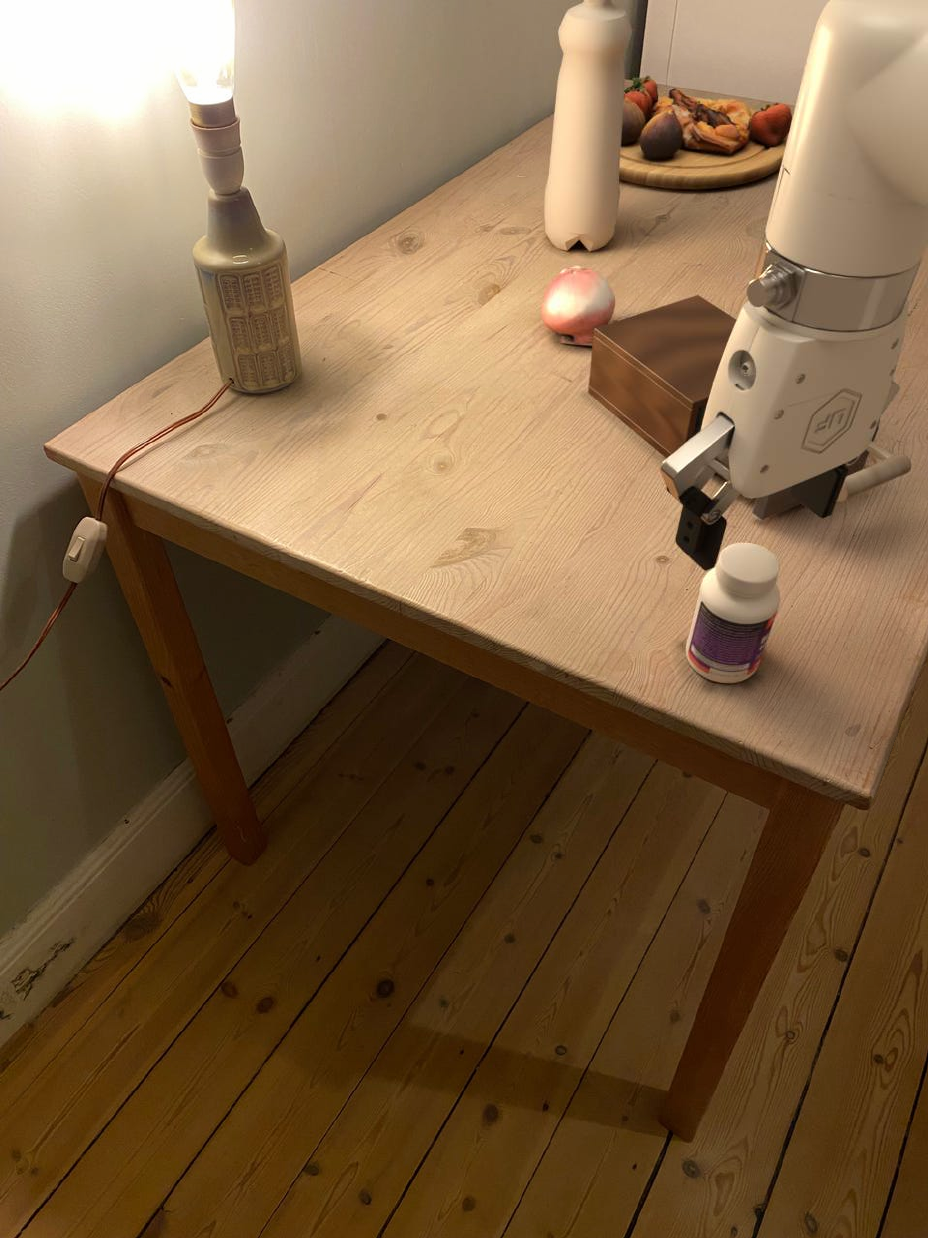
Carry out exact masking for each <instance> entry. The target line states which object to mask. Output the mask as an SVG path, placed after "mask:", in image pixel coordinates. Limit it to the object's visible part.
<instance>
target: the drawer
mask: <svg viewBox="0 0 928 1238" xmlns="http://www.w3.org/2000/svg"><path fill="white" fill-rule="evenodd" d="M706 407H707V405H704V406H702V407H699V409H698V414H697V419H696V423H695V428H694V433H693V437H694V436H695V435H696V434H697V433H699V432H700V431H701V427H702V422H703V418H704V415H705V411H706ZM879 429H880V427H879V426H878V428H877V429H876V430H875V433H874V435H873V437H872V440H871V442H870V444H869V446H868V447H867V449H866V450H865V451H864V452H863V453H861V455H860V457H859V459H858V460H857V461H856V462H855V463H854V464H852V465H850V466H847V465H845V467H846V468H847V469H849V471H848V473H847V476H846V479H845V481H844V484H843V486H842V489H841V491H840V494H839V497H838V499H837V502H838V503H839V502H840V503H844V502H846V501H849V500H850V499H853V498H855V497H857V496H859V495H863V494H864V493H866V492H868V491H871V490H873V489H875V488H877V487H880V486H882V485H884V484H886V483H888V482H891V481H893V480H895V479H898V478H900V477H902V476H904V475H907V474H908V473H909V472H910V471H911V470H912V460H911V459H910V457H909V456H908V455H906V454H904V453H897V454H895V455H893V454H892V453H890V452H889V451H887V450H886V449H884V448H883V447H881V446H880V445H878V444H877V443H875V439H876V436H877V434H878V431H879ZM870 454H872V455H873V456H874V457H876V458H877V459H879V460H880V461H879V462H877V463H876V462H875V463H874V464H872V465H870V466H868V467H865V465H866V463H867V460H868V457H869V455H870ZM722 462H724V463H725V464H726V465H727V466H728V467H729V456H727V457H725V458H724V459H723V460H722ZM864 467H865V468H864ZM715 474H718V473H717V472H715ZM720 477H721V478H723V477H722V476H720ZM791 488H792V486H791V487H788V488H786V489H783V490H781V491H778V492H775V493H773V494H770V495H767V496H764V497H759V498H755V501H754V506H753V510H752V514H753V515H755V516H756V517H757V518H758V519H759V520H760V521H764V520H766V519H769V518H772V517H773V516H775V515H778V514H780V513H782V512H785V511H787V510H790V509H791V508H793V507H796V506H798V505H800V504H801V503H800V502H799V501H797V500H796V499H795V498H794V497H792V495H791V493H790V491H791ZM801 505H802V504H801Z"/></svg>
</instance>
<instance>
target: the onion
mask: <svg viewBox="0 0 928 1238" xmlns="http://www.w3.org/2000/svg"><path fill="white" fill-rule="evenodd" d="M615 307H616V297H615V294H614V291H613V289H612V287H611V285H610V284H609V282H608V281H607V280H606V278H605V277H604V276H603V275H602V274H600V272H597V271H595V270H592V269H590V268H587V267H584V266H581V265H574V266H571V267H568V268H564V269H562V270H561V271H560V272H559V274H558V276H556V277H555V278H554V279H553V280H552V281H551V282H550V283H549V284H548V286H547V287H546V289H545V292H544V295H543V298H542V303H541V309H540V314H541V320H542V323H544V325H545V327H547V328H548V329H549V330H551V331H552V332H554V333H555V334H556V335H557V337H558V340H559V341H560V343H561V344H565V345H566V344H568V345H579V346H589V347H593V337H594V329H595V328H597V327H600V326H603V325H606V324H609V323H610V321H611V319H612V317H613V315H614V312H615ZM615 321H618V319H616V320H615ZM615 321H613V322H615Z"/></svg>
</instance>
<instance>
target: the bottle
mask: <svg viewBox="0 0 928 1238" xmlns="http://www.w3.org/2000/svg"><path fill="white" fill-rule="evenodd" d="M557 32H558V34H557V35H558V41H559V45H560V46H559V47H560V48H561V50H562V53H563V54H562V55H563V56H562V60H561V64H560V68H559V72H558V76H557V83H556V95H555V105H554V115H553V126H552V136H551V145H550V146H551V148H550V157H549V166H548V167H549V168H548V178H547V181H546V185H545V189H544V206H543V207H544V208H543V218H544V229H545V230H544V231H545V232H544V233H545V235H546V236H547V238H548V240H549V242H550V243H551V245H553V246H554V247H555V248H556V249H559V250H562V251H566V252H567V251H569V250H570V249H571V248H572V247H573V246H574V245H575V244H576V243H578V241H580V242H581V243H582V244H583V246H584V247H585V248H586V249H587V251H588V252H593V251H596V250H600V249H602V248H604V247H605V246H606V245H608V243H609V241H610V240H611V239H612V238H613V236H614V234H615V228H616V227H615V226H616V222H617V220H618V214H619V205H620V198H621V197H620V196H621V188H620V179H619V167H620V151H621V135H622V119H623V103H624V94H625V92H624V90H625V85H626V84H625V83H626V75H625V62H624V54H625V52H626V51H627V49H628V47H629V46H630V45H629V44H630V41H631V37H632V34H633V28H632V26H631V22H630V19H629V16H628V13H627V11H626V10H625V9H624V8H622V7H620V6H618V5H616V4H615V3H613V2H612V0H583V2H581V3H579V4H577V5H574V6H572V7H570V8H568V9H567V11H566V12H565V15H564V17H563V19H562V21H561V23H560V26H559V28H558V30H557Z"/></svg>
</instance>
